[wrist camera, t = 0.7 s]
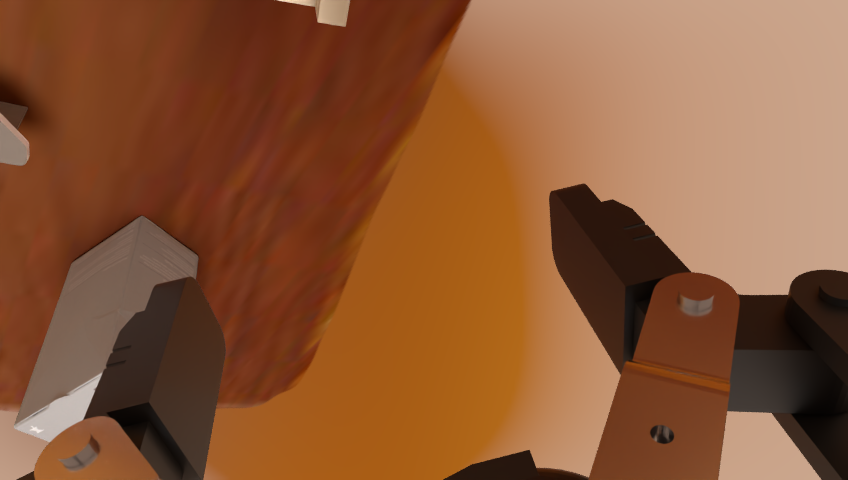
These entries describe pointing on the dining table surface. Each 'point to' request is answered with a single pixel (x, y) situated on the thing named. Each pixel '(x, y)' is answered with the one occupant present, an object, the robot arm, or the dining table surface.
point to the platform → (12, 135)
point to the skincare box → (96, 321)
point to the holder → (327, 10)
